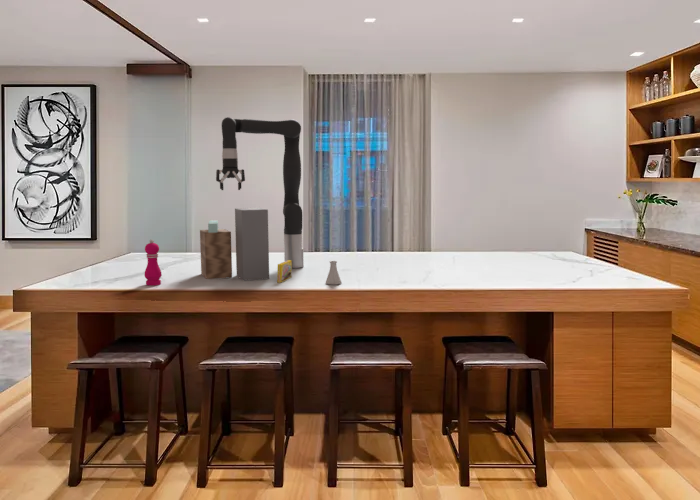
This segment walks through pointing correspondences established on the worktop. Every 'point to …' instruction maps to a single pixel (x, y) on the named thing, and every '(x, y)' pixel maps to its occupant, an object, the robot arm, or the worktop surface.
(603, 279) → the worktop surface
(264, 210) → the tall podium
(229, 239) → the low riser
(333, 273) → the flask
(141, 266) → the worktop surface
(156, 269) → the pepper mill
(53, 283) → the worktop surface
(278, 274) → the candy box
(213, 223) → the slim carton
